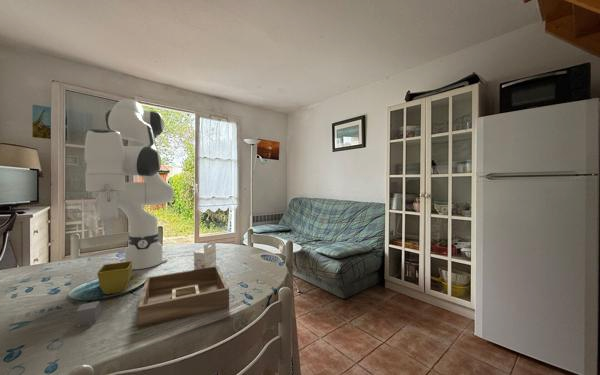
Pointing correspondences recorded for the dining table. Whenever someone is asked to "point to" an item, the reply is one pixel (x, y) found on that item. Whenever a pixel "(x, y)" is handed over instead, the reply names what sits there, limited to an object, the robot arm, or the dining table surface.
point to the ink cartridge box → (205, 256)
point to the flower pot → (114, 277)
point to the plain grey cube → (88, 313)
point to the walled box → (182, 296)
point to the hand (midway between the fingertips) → (108, 232)
